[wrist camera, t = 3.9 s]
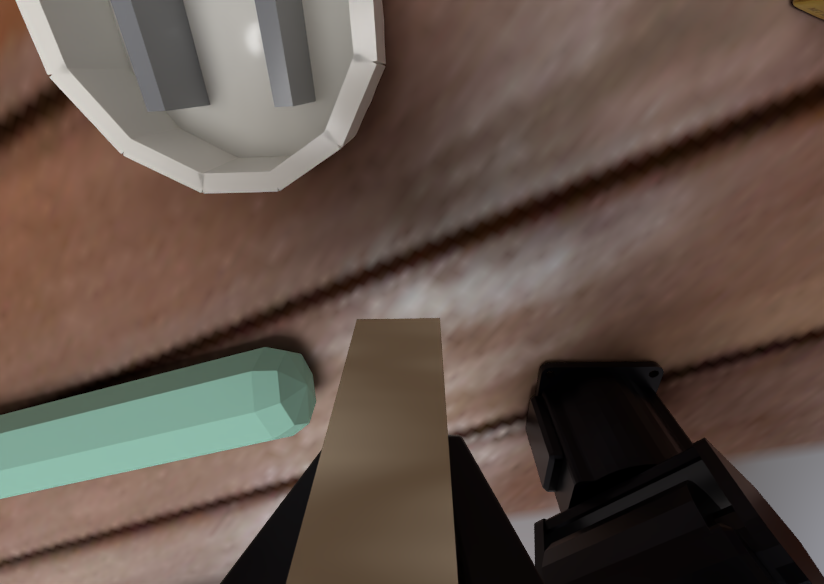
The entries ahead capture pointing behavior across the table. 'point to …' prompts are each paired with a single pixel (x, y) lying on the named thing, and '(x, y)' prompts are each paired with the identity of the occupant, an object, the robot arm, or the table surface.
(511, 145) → the table surface
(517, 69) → the table surface
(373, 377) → the beige long wooden block
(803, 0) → the candy box
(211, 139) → the white round dish
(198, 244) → the table surface
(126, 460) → the mint green faceted bar
